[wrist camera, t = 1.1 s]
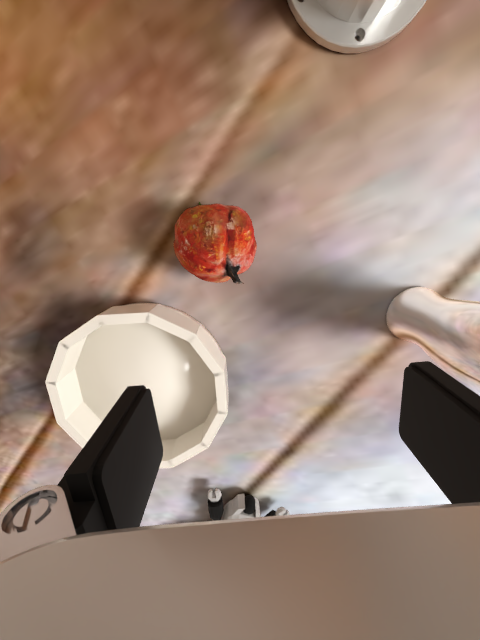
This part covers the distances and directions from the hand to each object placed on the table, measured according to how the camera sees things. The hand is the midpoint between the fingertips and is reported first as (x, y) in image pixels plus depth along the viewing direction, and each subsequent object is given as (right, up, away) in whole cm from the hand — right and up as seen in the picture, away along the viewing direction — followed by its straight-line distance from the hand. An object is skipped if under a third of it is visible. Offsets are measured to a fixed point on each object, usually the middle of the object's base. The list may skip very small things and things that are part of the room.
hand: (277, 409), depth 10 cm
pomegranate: (-4, +11, +19) cm, 22 cm away
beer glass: (+18, +4, +21) cm, 28 cm away
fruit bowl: (-12, -3, +23) cm, 26 cm away
